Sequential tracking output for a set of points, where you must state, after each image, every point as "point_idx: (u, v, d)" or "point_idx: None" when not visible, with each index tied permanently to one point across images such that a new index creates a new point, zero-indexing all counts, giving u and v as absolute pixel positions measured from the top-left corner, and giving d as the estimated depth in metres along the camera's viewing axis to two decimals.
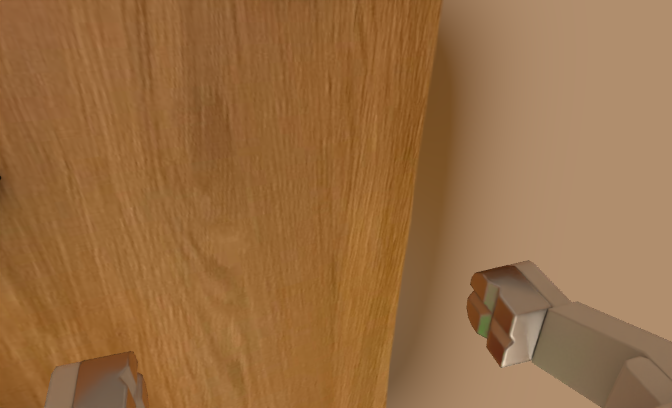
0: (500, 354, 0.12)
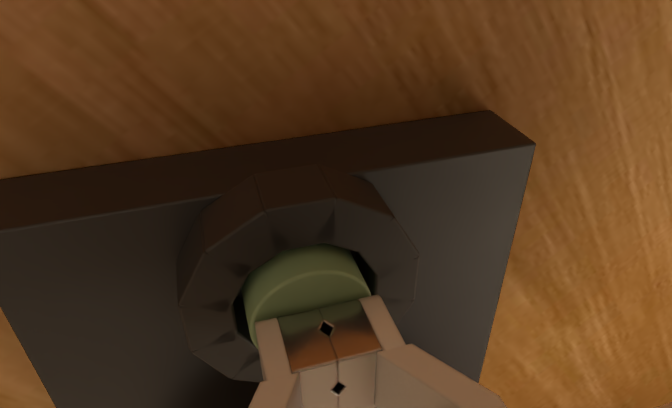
0: (337, 399, 0.11)
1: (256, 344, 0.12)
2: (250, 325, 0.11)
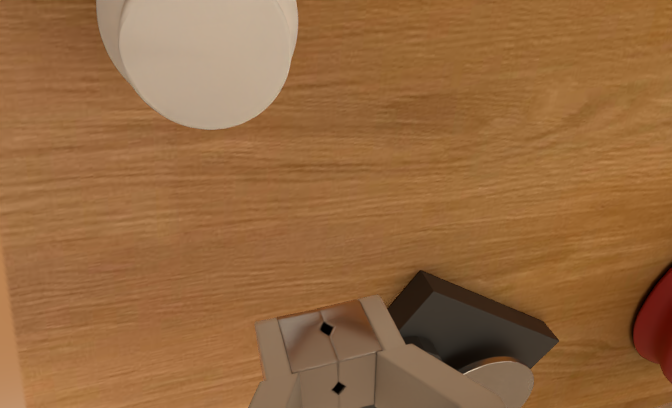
0: (336, 398, 0.11)
1: None
2: None
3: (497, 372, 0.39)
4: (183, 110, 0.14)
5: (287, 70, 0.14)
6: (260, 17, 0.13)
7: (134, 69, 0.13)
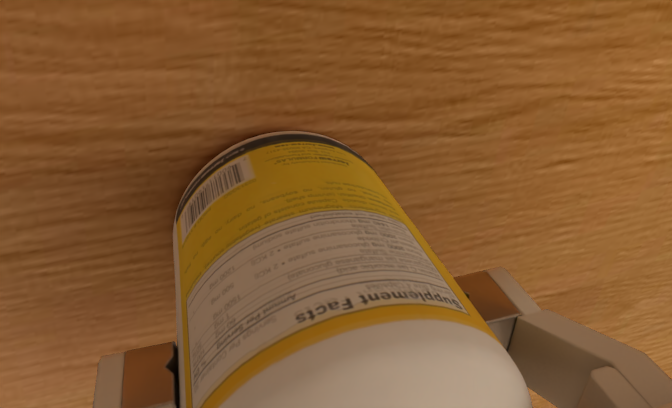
0: None
1: None
2: None
3: None
4: None
5: None
6: None
7: None
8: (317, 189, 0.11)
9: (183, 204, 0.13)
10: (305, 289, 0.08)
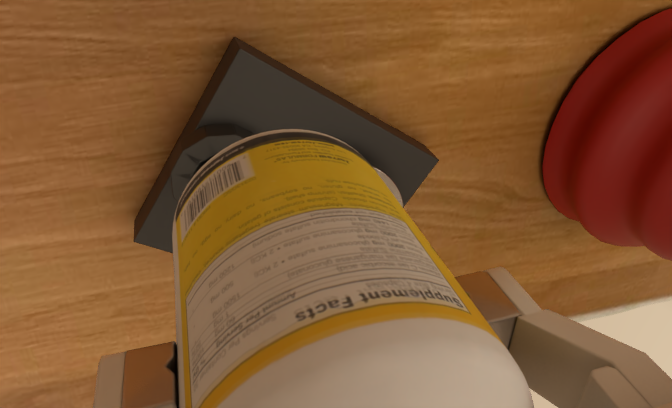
0: None
1: None
2: None
3: None
4: None
5: None
6: None
7: None
8: (318, 187, 0.11)
9: (183, 202, 0.13)
10: (305, 287, 0.08)
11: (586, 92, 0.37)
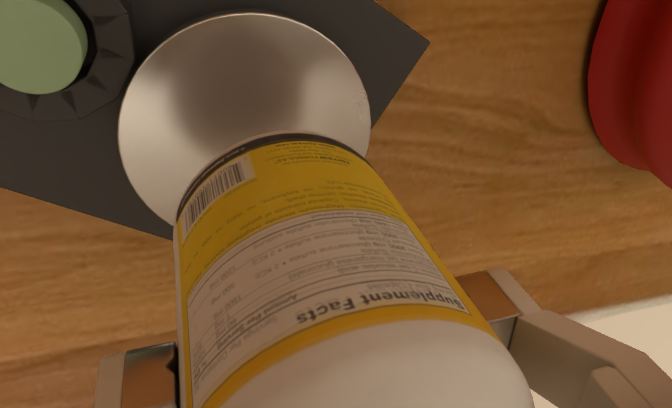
0: None
1: (25, 91, 0.16)
2: (3, 84, 0.16)
3: (267, 49, 0.18)
4: None
5: None
6: None
7: None
8: (318, 189, 0.11)
9: (183, 204, 0.13)
10: (306, 288, 0.08)
11: None
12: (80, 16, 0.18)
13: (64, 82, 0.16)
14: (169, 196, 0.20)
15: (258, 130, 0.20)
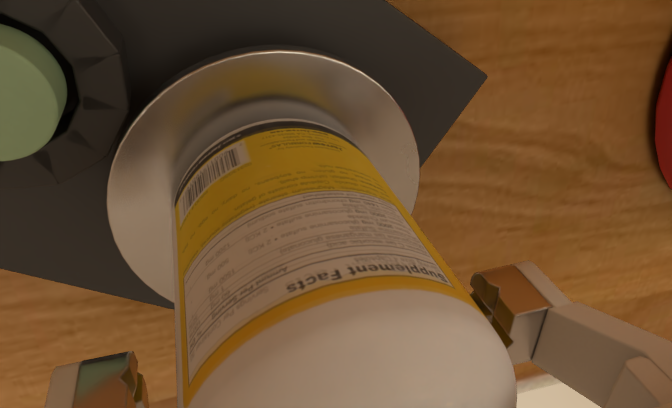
0: None
1: None
2: None
3: (297, 94, 0.14)
4: None
5: None
6: None
7: None
8: (311, 171, 0.11)
9: (181, 189, 0.13)
10: (296, 262, 0.09)
11: None
12: (58, 54, 0.14)
13: (35, 145, 0.12)
14: (172, 271, 0.16)
15: None
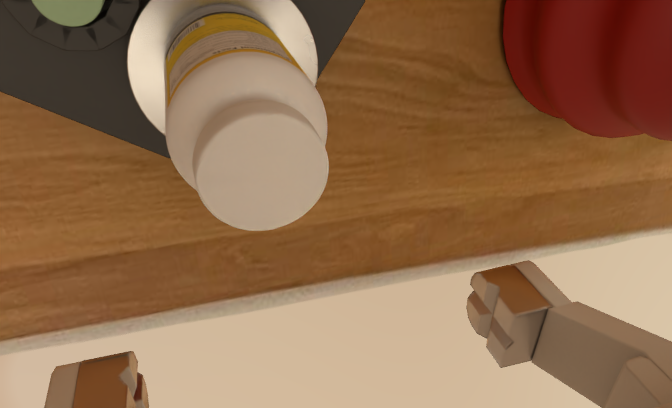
0: (500, 354, 0.12)
1: (63, 24, 0.23)
2: None
3: None
4: (243, 219, 0.18)
5: (325, 183, 0.18)
6: (305, 148, 0.17)
7: (207, 193, 0.17)
8: (235, 25, 0.22)
9: (169, 48, 0.24)
10: (218, 47, 0.19)
11: None
12: None
13: (90, 18, 0.23)
14: None
15: None
